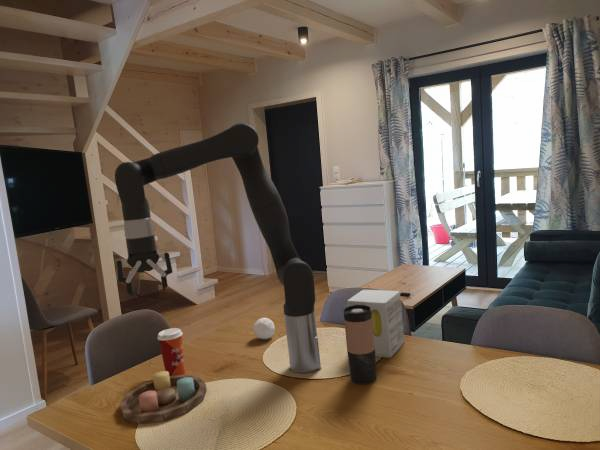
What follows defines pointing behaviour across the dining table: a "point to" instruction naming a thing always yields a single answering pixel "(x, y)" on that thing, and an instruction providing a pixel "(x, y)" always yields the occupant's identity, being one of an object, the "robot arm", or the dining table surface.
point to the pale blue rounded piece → (185, 389)
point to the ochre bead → (161, 380)
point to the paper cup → (172, 351)
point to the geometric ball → (264, 328)
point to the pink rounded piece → (148, 402)
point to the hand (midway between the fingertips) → (148, 292)
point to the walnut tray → (164, 410)
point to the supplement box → (383, 319)
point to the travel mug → (360, 344)
